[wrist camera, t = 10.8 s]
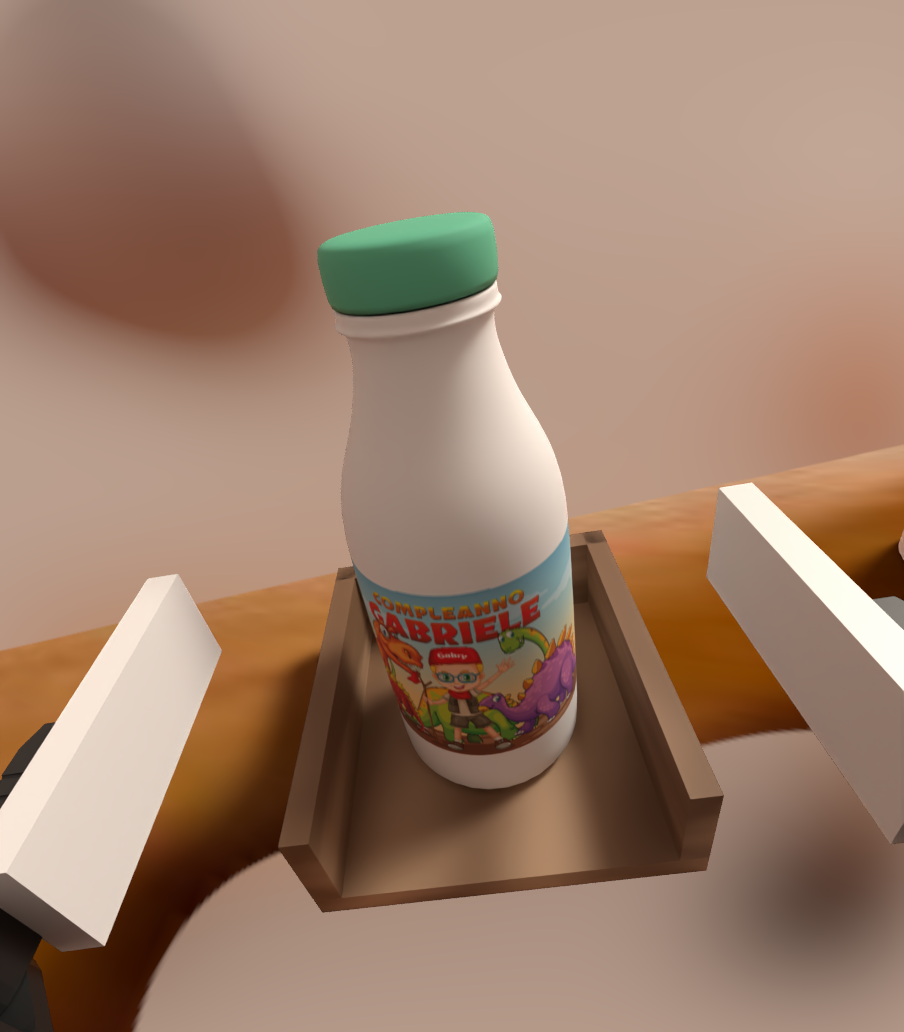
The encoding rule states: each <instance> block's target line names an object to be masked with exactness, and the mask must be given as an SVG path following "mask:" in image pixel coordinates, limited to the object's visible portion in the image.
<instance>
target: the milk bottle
mask: <svg viewBox="0 0 904 1032" xmlns="http://www.w3.org/2000/svg"><path fill="white" fill-rule="evenodd" d="M317 253H318V265H319V270H320V274H321V278H322V283H323V286H324V289H325V292H326V296H327V299H328V302H329V304H330V305H331V307H332V309H333V310H334V315H335V319H336V323H335V329H336V331H337V332H339V333H340V334H341V335H344V336H346V338H347V341H348V344H349V347H350V351H351V356H352V364H353V404H352V416H351V424H350V430H349V436H348V442H347V447H346V453H345V457H344V464H343V471H342V482H341V502H342V503H341V505H342V516H343V523H344V529H345V535H346V540H347V544H348V548H349V552H350V555H351V559H352V563H353V566H354V570H355V573H356V577H357V581H358V584H359V587H360V590H361V593H362V597H363V600H364V603H365V606H366V609H367V612H368V615H369V618H370V622H371V625H372V628H373V631H374V634H375V637H376V640H377V643H378V646H379V649H380V652H381V656H382V659H383V662H384V665H385V668H386V671H387V674H388V677H389V680H390V683H391V686H392V689H393V692H394V695H395V698H396V701H397V704H398V707H399V709H400V712H401V715H402V718H403V721H404V724H405V727H406V730H407V732H408V735H409V737H410V740H411V742H412V745H413V747H414V749H415V750H416V752H417V753H418V755H419V756H420V758H421V759H422V760H423V761H424V762H425V763H426V764H427V765H428V766H429V767H430V768H431V769H432V770H434V771H435V772H436V773H438V774H439V775H441V776H443V777H444V778H446V779H448V780H450V781H452V782H454V783H457V784H461V785H464V786H468V787H471V788H481V789H497V788H508V787H511V786H514V785H517V784H520V783H524V782H526V781H528V780H529V779H531V778H533V777H535V776H537V775H539V774H541V773H542V772H543V771H544V770H545V769H546V768H547V767H549V766H550V765H551V764H553V763H554V761H555V760H556V759H557V758H558V757H559V756H560V754H561V753H562V752H563V750H564V749H565V748H566V746H567V744H568V742H569V741H570V739H571V736H572V734H573V731H574V727H575V723H576V717H577V680H576V654H575V630H574V607H573V588H572V569H571V551H570V538H569V527H568V517H567V506H566V497H565V492H564V487H563V482H562V477H561V473H560V470H559V467H558V463H557V460H556V457H555V454H554V452H553V450H552V447H551V445H550V443H549V440H548V438H547V436H546V435H545V433H544V431H543V429H542V427H541V426H540V424H539V422H538V420H537V419H536V417H535V415H534V414H533V412H532V410H531V409H530V407H529V405H528V404H527V402H526V400H525V399H524V397H523V396H522V394H521V392H520V390H519V388H518V386H517V384H516V383H515V381H514V378H513V376H512V374H511V372H510V370H509V367H508V365H507V362H506V359H505V357H504V354H503V352H502V349H501V346H500V343H499V340H498V336H497V333H496V328H495V320H494V309H495V308H496V307H497V306H498V304H499V303H500V301H501V295H500V293H499V292H498V288H497V282H496V279H497V274H498V260H497V247H496V240H495V233H494V228H493V225H492V222H491V219H490V218H489V217H488V216H487V215H485V214H482V213H476V212H458V213H447V214H439V215H432V216H423V217H418V218H411V219H407V220H400V221H396V222H391V223H386V224H381V225H376V226H372V227H368V228H364V229H360V230H356V231H352V232H349V233H346V234H342V235H339V236H337V237H334V238H332V239H330V240H328V241H326V242H325V243H323V244H321V245H320V247H319V249H318V251H317Z"/></svg>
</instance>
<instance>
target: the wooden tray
mask: <svg viewBox="0 0 904 1032" xmlns="http://www.w3.org/2000/svg"><path fill="white" fill-rule="evenodd" d="M569 538H570V551H571V569H572V588H573V607H574V630H575V654H576V680H577V717H576V723H575V727H574V731H573V734H572V736H571V739H570V741H569V742H568V744H567V746H566V748H565V749H564V750H563V752H562V753H561V754H560V756H559V757H558V758H557V759H556V760H555V761H554V763H553V764H551V765H550V766H549V767H547V768H546V769H545V770H544V771H543V772H542V773H541V774H539V775H537V776H535V777H533V778H531V779H529V780H528V781H526V782H524V783H520V784H517V785H514V786H511V787H508V788H497V789H481V788H471V787H468V786H464V785H461V784H457V783H454V782H452V781H450V780H448V779H446V778H444V777H443V776H441V775H439V774H438V773H436V772H435V771H434V770H432V769H431V768H430V767H429V766H428V765H427V764H426V763H425V762H424V761H423V760H422V759H421V758H420V756H419V755H418V753H417V752H416V750H415V749H414V747H413V745H412V742H411V740H410V737H409V735H408V732H407V730H406V727H405V724H404V721H403V718H402V715H401V712H400V709H399V707H398V704H397V701H396V698H395V695H394V692H393V689H392V686H391V683H390V680H389V677H388V674H387V671H386V668H385V665H384V662H383V659H382V656H381V652H380V649H379V646H378V643H377V640H376V637H375V634H374V631H373V628H372V625H371V622H370V618H369V615H368V612H367V609H366V606H365V603H364V600H363V597H362V593H361V590H360V587H359V584H358V581H357V577H356V573H355V570H354V566H353V567H345V568H339V569H338V573H337V577H336V582H335V586H334V591H333V596H332V600H331V605H330V609H329V614H328V619H327V623H326V628H325V633H324V637H323V642H322V646H321V651H320V656H319V660H318V665H317V669H316V674H315V679H314V683H313V688H312V692H311V697H310V702H309V706H308V711H307V715H306V720H305V725H304V729H303V734H302V738H301V743H300V748H299V752H298V757H297V761H296V766H295V771H294V775H293V780H292V785H291V789H290V794H289V798H288V803H287V808H286V812H285V817H284V821H283V826H282V831H281V835H280V840H279V844H278V849H279V850H280V852H281V853H282V854H283V856H284V857H285V859H286V860H287V862H288V863H289V864H290V866H291V867H292V869H293V870H294V872H295V873H296V875H297V876H298V878H299V879H300V881H301V882H302V883H303V885H304V886H305V888H306V889H307V891H308V892H309V894H310V895H311V896H312V898H313V899H314V901H315V902H316V904H317V905H318V907H319V908H320V909H321V911H322V912H332V911H340V910H350V909H359V908H368V907H377V906H386V905H395V904H405V903H414V902H422V901H432V900H441V899H450V898H459V897H468V896H477V895H486V894H496V893H505V892H514V891H523V890H532V889H541V888H550V887H559V886H569V885H578V884H587V883H596V882H605V881H613V880H623V879H632V878H641V877H650V876H660V875H669V874H678V873H687V872H696V871H705V870H706V869H707V865H708V861H709V856H710V852H711V848H712V844H713V839H714V835H715V831H716V826H717V822H718V818H719V814H720V809H721V805H722V801H723V796H724V795H723V793H722V791H721V788H720V786H719V784H718V782H717V780H716V778H715V775H714V773H713V771H712V769H711V767H710V764H709V763H708V760H707V758H706V756H705V754H704V751H703V749H702V747H701V745H700V743H699V741H698V738H697V736H696V734H695V732H694V730H693V728H692V725H691V723H690V721H689V719H688V717H687V715H686V712H685V710H684V708H683V706H682V704H681V702H680V699H679V697H678V695H677V693H676V691H675V689H674V686H673V684H672V682H671V680H670V678H669V675H668V673H667V671H666V669H665V667H664V665H663V662H662V660H661V658H660V656H659V654H658V652H657V649H656V647H655V645H654V643H653V641H652V639H651V636H650V634H649V632H648V630H647V628H646V626H645V623H644V621H643V619H642V617H641V615H640V613H639V610H638V608H637V606H636V604H635V602H634V600H633V597H632V595H631V593H630V591H629V589H628V587H627V584H626V582H625V580H624V578H623V576H622V574H621V571H620V569H619V567H618V565H617V563H616V561H615V558H614V556H613V554H612V552H611V550H610V547H609V545H608V543H607V541H606V539H605V537H604V534H603V532H602V530H599V531H592V532H585V533H579V534H572V535H569Z"/></svg>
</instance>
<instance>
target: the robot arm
mask: <svg viewBox="0 0 904 1032" xmlns="http://www.w3.org/2000/svg"><path fill="white" fill-rule="evenodd" d="M707 578H708V580H709V581H710V583H711V584H712V586H713V587H714V589H715V590H716V591H717V593H718V594H719V596H720V597H721V599H722V600H723V602H724V603H725V605H726V606H727V607H728V609H729V610H730V612H731V613H732V615H733V616H734V618H735V619H736V620H737V622H738V623H739V625H740V626H741V628H742V629H743V631H744V632H745V634H746V635H747V636H748V638H749V639H750V641H751V642H752V644H753V645H754V647H755V648H756V650H757V651H758V652H759V654H760V655H761V657H762V658H763V660H764V661H765V663H766V664H767V666H768V667H769V668H770V670H771V671H772V673H773V674H774V676H775V677H776V679H777V680H778V682H779V683H780V684H781V686H782V687H783V689H784V690H785V692H786V693H787V695H788V696H789V698H790V699H791V700H792V702H793V703H794V705H795V706H796V708H797V709H798V711H799V712H800V714H801V715H802V716H803V718H804V719H805V721H806V722H807V724H808V725H809V727H810V728H811V730H812V731H813V732H814V734H815V735H816V737H817V738H818V740H819V741H820V743H821V744H822V745H823V747H824V748H825V750H826V751H827V753H828V754H829V756H830V757H831V759H832V760H833V761H834V763H835V764H836V766H837V767H838V769H839V770H840V772H841V773H842V775H843V776H844V777H845V779H846V780H847V782H848V783H849V785H850V786H851V788H852V789H853V791H854V792H855V793H856V795H857V796H858V798H859V799H860V801H861V802H862V804H863V805H864V807H865V808H866V809H867V811H868V812H869V814H870V815H871V817H872V818H873V820H874V821H875V822H876V824H877V825H878V827H879V828H880V830H881V831H882V833H883V834H884V835H885V837H886V839H887V840H888V841H889V843H890V844H896V843H904V601H903V600H901V599H899V598H897V597H895V596H893V597H886V598H879V599H873V600H872V599H871V598H870V597H869V596H868V595H867V594H866V593H865V592H864V591H863V590H862V589H861V588H860V587H859V586H858V585H857V584H856V583H855V582H853V581H852V580H851V579H850V578H849V577H848V576H847V575H846V574H845V573H844V572H843V571H842V570H841V569H840V568H839V567H838V566H837V565H836V564H835V563H834V562H833V561H832V560H831V559H830V558H829V557H828V556H827V555H826V554H825V553H824V552H823V551H822V550H821V549H820V548H819V547H818V546H817V545H815V544H814V543H813V542H812V541H811V540H810V539H809V538H808V537H807V536H806V535H805V534H804V533H803V532H802V531H801V530H800V529H799V528H798V527H797V526H796V525H795V524H794V523H793V522H792V521H791V520H790V519H789V518H788V517H787V516H786V515H785V514H784V513H783V512H782V511H781V510H780V509H779V508H777V507H776V506H775V505H774V504H773V503H772V502H771V501H770V500H769V499H768V498H767V497H766V496H765V495H764V494H763V493H762V492H761V491H760V490H759V489H758V488H757V487H756V486H755V485H754V484H753V483H747V484H741V485H734V486H728V487H722V488H719V491H718V498H717V506H716V513H715V520H714V527H713V534H712V542H711V549H710V556H709V563H708V570H707ZM221 652H222V650H221V648H220V647H219V645H218V643H217V641H216V640H215V638H214V636H213V634H212V633H211V631H210V629H209V627H208V626H207V624H206V622H205V620H204V619H203V617H202V615H201V613H200V612H199V610H198V608H197V606H196V605H195V603H194V601H193V599H192V598H191V596H190V594H189V592H188V591H187V589H186V587H185V585H184V584H183V582H182V580H181V578H180V577H179V575H178V574H174V575H168V576H162V577H155V578H149V579H147V581H146V582H145V584H144V585H143V587H142V589H141V590H140V592H139V594H138V595H137V596H136V598H135V599H134V601H133V603H132V604H131V606H130V607H129V609H128V611H127V612H126V614H125V615H124V617H123V618H122V620H121V621H120V623H119V624H118V626H117V628H116V629H115V631H114V632H113V634H112V635H111V637H110V639H109V640H108V642H107V643H106V645H105V646H104V648H103V649H102V651H101V653H100V654H99V656H98V657H97V659H96V660H95V662H94V664H93V665H92V667H91V668H90V670H89V671H88V673H87V674H86V676H85V678H84V679H83V681H82V682H81V684H80V685H79V687H78V688H77V690H76V692H75V693H74V695H73V696H72V698H71V699H70V701H69V703H68V704H67V706H66V707H65V709H64V710H63V712H62V713H61V715H60V717H59V718H58V720H57V721H56V722H54V723H47V724H44V725H43V726H42V727H41V728H40V729H39V730H38V731H37V732H36V733H35V734H34V735H33V736H32V737H31V738H30V739H29V740H28V741H27V742H26V743H25V744H24V745H23V746H22V747H21V748H20V749H19V750H18V752H17V753H16V755H15V756H14V758H13V759H12V761H11V762H10V764H9V765H8V767H7V768H6V770H5V771H4V773H3V774H2V780H0V1032H53V1027H52V1022H51V1017H50V1012H49V1007H48V1002H47V997H46V992H45V987H44V982H43V977H42V972H41V969H40V968H39V966H38V964H37V962H36V961H35V960H33V959H32V958H33V956H34V954H35V952H36V950H37V948H38V946H39V943H40V941H41V939H44V940H45V941H47V942H48V943H50V944H51V945H52V946H54V947H55V948H57V949H58V950H60V951H61V952H64V951H72V950H79V949H87V948H95V947H102V946H105V944H106V942H107V939H108V937H109V934H110V932H111V929H112V927H113V924H114V922H115V919H116V916H117V914H118V911H119V909H120V906H121V904H122V901H123V899H124V896H125V894H126V891H127V889H128V886H129V884H130V881H131V879H132V876H133V874H134V871H135V869H136V866H137V864H138V861H139V859H140V856H141V853H142V851H143V848H144V846H145V843H146V841H147V838H148V836H149V833H150V831H151V828H152V826H153V823H154V821H155V818H156V816H157V813H158V811H159V808H160V806H161V803H162V801H163V798H164V796H165V793H166V790H167V788H168V785H169V783H170V780H171V778H172V775H173V773H174V770H175V768H176V765H177V763H178V760H179V758H180V755H181V753H182V750H183V748H184V745H185V743H186V740H187V738H188V735H189V733H190V730H191V727H192V725H193V722H194V720H195V717H196V715H197V712H198V710H199V707H200V705H201V702H202V700H203V697H204V695H205V692H206V690H207V687H208V685H209V682H210V680H211V677H212V675H213V672H214V669H215V667H216V664H217V662H218V659H219V657H220V654H221Z"/></svg>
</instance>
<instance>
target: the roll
mask: <svg viewBox="0 0 904 1032" xmlns="http://www.w3.org/2000/svg"><path fill="white" fill-rule="evenodd" d="M898 548H899V553H900V554H901V556H902V558H903V560H904V531H903V534H902V536H901V539H900V541H899V545H898Z"/></svg>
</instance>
